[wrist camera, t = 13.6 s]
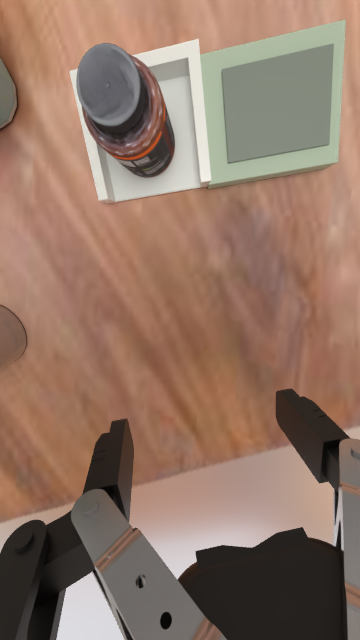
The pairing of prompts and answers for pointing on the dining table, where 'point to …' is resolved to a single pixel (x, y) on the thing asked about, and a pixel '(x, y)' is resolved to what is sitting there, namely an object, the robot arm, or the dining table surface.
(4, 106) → the disposable coffee cup
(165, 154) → the supplement bottle
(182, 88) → the chute bracket
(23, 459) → the dining table surface
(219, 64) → the green rectangular block
